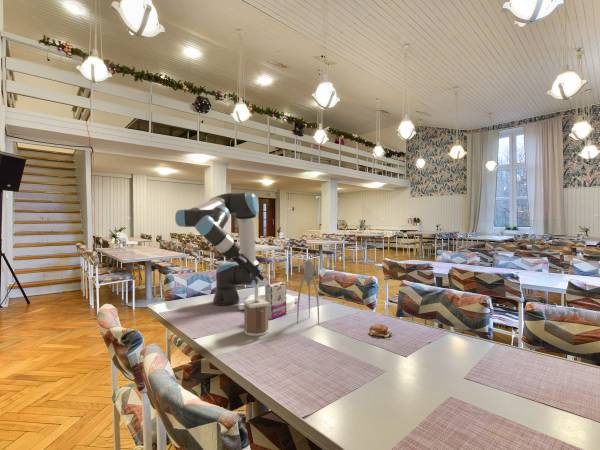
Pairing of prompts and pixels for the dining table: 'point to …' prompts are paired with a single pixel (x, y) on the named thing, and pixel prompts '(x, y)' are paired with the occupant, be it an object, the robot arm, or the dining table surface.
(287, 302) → the white circle with bar
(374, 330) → the hamburger
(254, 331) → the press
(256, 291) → the dark knobbed rod
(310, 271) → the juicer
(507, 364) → the dining table surface
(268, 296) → the candy bar box
